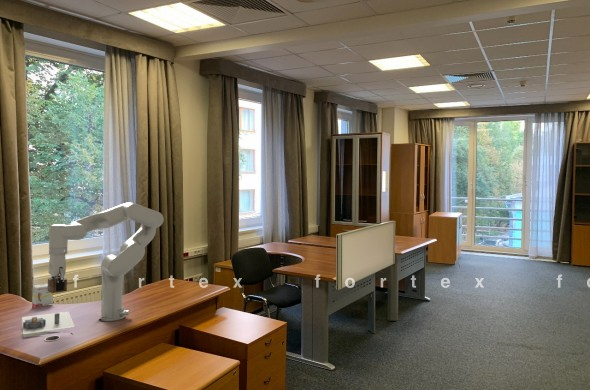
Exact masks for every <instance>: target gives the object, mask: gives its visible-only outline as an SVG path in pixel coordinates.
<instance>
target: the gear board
mask: <svg viewBox="0 0 590 390" xmlns="http://www.w3.org/2000/svg"><path fill="white" fill-rule="evenodd" d="M21 323H22V324H21V325H22V338H23V339H24V338H32V337H38V336H44V335H52V334H58V333H60V331H58V330H65V329H70V328H75V327H76V326H75V323H74V322H73V319H72V316H71V314H70V311H69V310H68V311H61V312H53V313H45V314H37V315H29V316H21Z"/></svg>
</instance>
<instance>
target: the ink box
mask: <svg viewBox="0 0 590 390" xmlns="http://www.w3.org/2000/svg"><path fill="white" fill-rule="evenodd" d="M31 300H32V302H31V308H32V309H36V308H39V307H45V306H50V305H53V304H54V303H53V301H54V293H51V292H49V291H48V283H43V284H42V283H41V284H36V285H35V284H34V285H33V286H32V297H31Z"/></svg>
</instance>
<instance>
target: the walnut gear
mask: <svg viewBox="0 0 590 390" xmlns="http://www.w3.org/2000/svg"><path fill="white" fill-rule="evenodd" d="M58 278H59V277H58ZM56 282H57V279H56V277H55V278H51V277H49V278H47V284H48V291H49V292H51V293H53V294H56V293H57V294H58V293H63V292H67V291H68V279H67V278H66V277H65V276H64V290H63V291H56Z"/></svg>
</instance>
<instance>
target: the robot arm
mask: <svg viewBox="0 0 590 390" xmlns="http://www.w3.org/2000/svg"><path fill="white" fill-rule="evenodd" d="M130 220H131V221H133V222H135V223H139V224H140V226H139V229H137V231H136V232H135V233H134V234H133V235H132V236H131V237H128V239H127V240H126V241H124V242H123V243H122V244H121V246H120V248H119V254H112V253H111V254H108V255H106V256H105V257H103V259H102V261H101V263H100V271H101V307H100V309H101V310H100V313H101V314H100V316H101V317H100V318H99V319H98V321H101V322H115V321H120V320H122V319H124V318H125V316H130V313H131V312H130V310H128V309H127V310H126V309H125V307H124V306H123V281H124V280H123V276H125V275H126V274H128V273H129V272H130V270H132V269H133V268H134V267H135V266H136V265H137V264H138V263H139V262H140V261H142V259H143V258H144V257H145V253H146V249H145V248H146V247H147V246H148V245H149V244H150V242H151V241H153V240H154V237H155V236H156V232H157V228H159V227H161V226H162V225H163V223H164V220H165V219H164V215H163V214H162V213H161V212H159V211H157V210H154V209H151V208H148V207H146V206H143V205H141V204H138V203H136V202H132V201H131V202H125V203H122V204H119V205H117V206H114V207H112V208H109V209H107V210H104V211H101V212H97V213H95V214H91V215H89V216H85V217H82V218H80V219H76V220H75V221H72V222H70V223H68V224H63V223H54V224H50V226H49V233H48V235H49V236H48V239H49V240H48V255H49V260H48V261H49V262H48V274H49V275H50V278H55V277H56V279H57V282H56V291H63V290H64V277H65V276H66V267H67V266H66V261H67V260H66V255H67V254H68V240H71V241H81V240H83V239H85V238H86V236H87V235H88V233H89V232H91V231H95V230H101V229H102V230H103V229H104V230H105V229H109V228H113V227H114V226H117V225H120V224H122V223H125V222H127V221H130ZM58 277H59V278H58Z"/></svg>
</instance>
